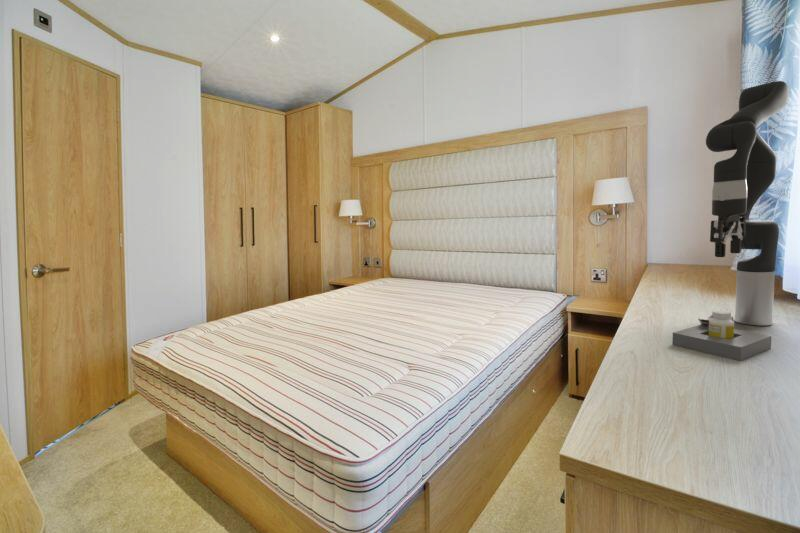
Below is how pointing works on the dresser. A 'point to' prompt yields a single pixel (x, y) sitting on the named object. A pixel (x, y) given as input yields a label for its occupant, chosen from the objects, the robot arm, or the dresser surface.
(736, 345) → the socket block
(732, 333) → the supplement bottle
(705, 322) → the mobile phone
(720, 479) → the dresser surface
